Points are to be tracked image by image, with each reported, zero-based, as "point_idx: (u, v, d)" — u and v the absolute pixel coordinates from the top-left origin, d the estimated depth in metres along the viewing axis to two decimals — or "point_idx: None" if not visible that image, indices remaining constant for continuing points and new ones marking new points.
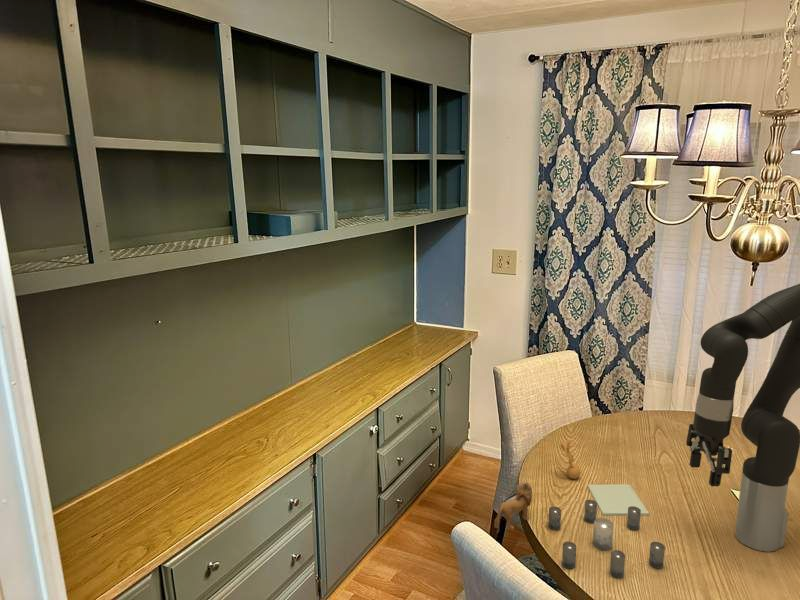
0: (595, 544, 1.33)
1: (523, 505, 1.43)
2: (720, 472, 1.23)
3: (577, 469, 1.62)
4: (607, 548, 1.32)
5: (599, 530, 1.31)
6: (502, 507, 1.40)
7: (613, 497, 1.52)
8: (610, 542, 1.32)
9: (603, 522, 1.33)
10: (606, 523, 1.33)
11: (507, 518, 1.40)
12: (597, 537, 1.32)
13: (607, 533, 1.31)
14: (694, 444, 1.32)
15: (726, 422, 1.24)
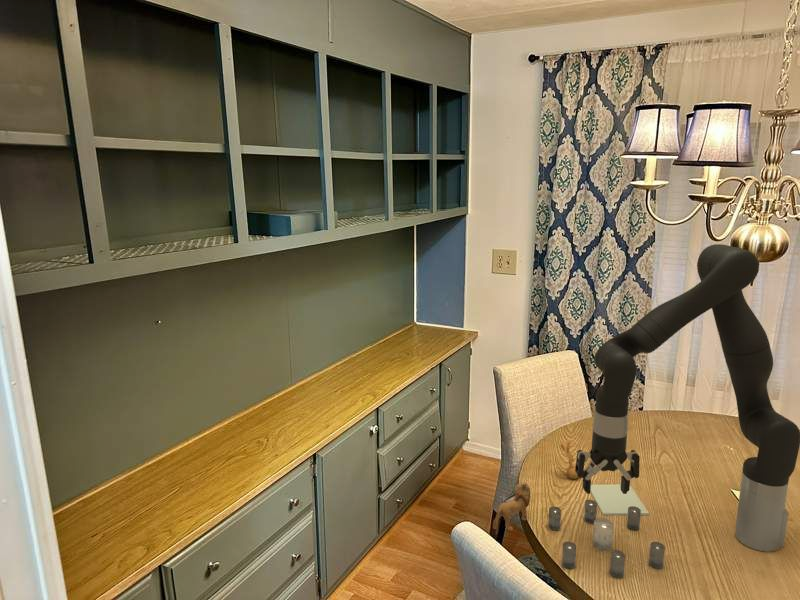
0: (595, 544, 1.33)
1: (522, 506, 1.42)
2: None
3: None
4: (607, 548, 1.32)
5: (599, 530, 1.31)
6: (501, 508, 1.40)
7: (613, 497, 1.52)
8: (610, 542, 1.32)
9: (603, 522, 1.33)
10: (606, 523, 1.33)
11: (506, 519, 1.40)
12: (597, 537, 1.32)
13: (607, 533, 1.31)
14: (597, 470, 1.28)
15: None
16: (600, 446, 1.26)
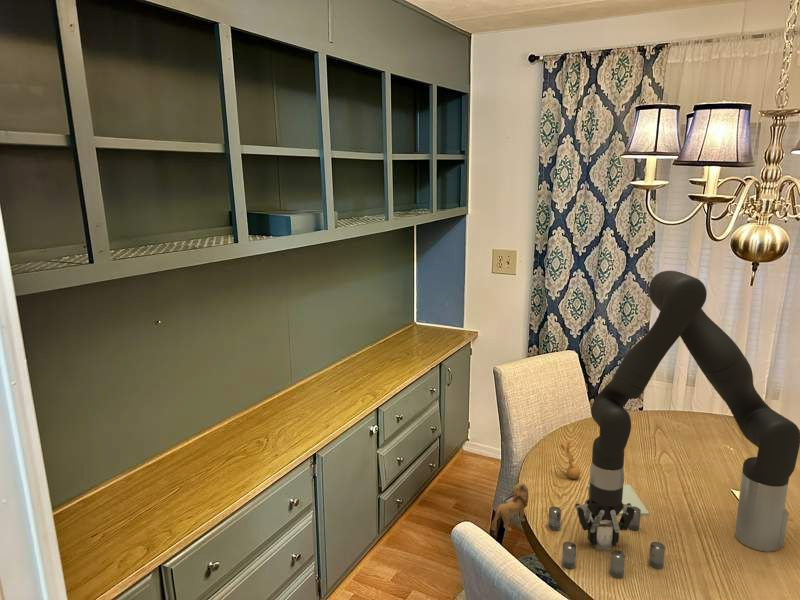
0: (595, 544, 1.33)
1: (520, 507, 1.42)
2: None
3: (577, 469, 1.62)
4: (607, 548, 1.32)
5: (599, 530, 1.31)
6: (499, 509, 1.39)
7: None
8: (610, 542, 1.32)
9: (603, 522, 1.33)
10: (607, 523, 1.33)
11: (504, 520, 1.39)
12: (597, 537, 1.32)
13: (607, 533, 1.31)
14: (598, 521, 1.31)
15: None
16: (597, 497, 1.28)
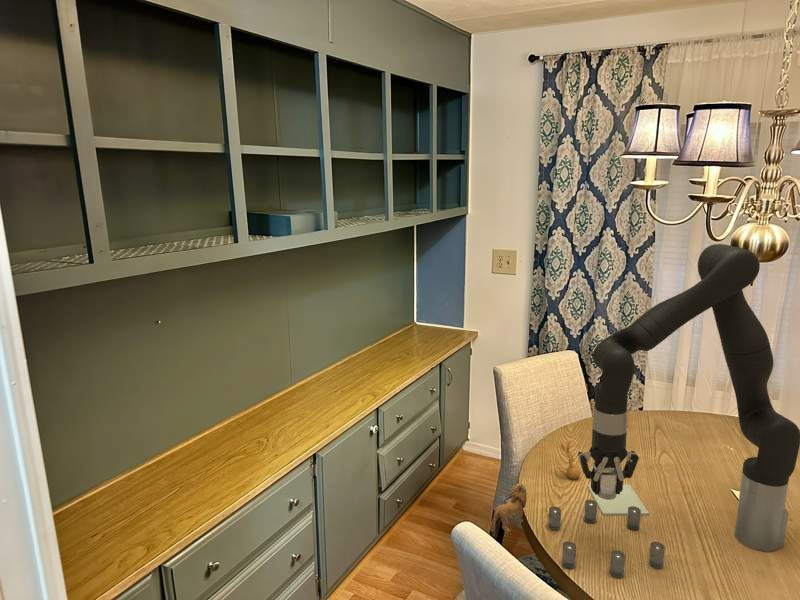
0: (599, 493, 1.30)
1: (518, 507, 1.42)
2: None
3: (577, 469, 1.62)
4: (610, 496, 1.29)
5: (603, 478, 1.28)
6: (498, 510, 1.39)
7: None
8: (614, 490, 1.29)
9: (606, 470, 1.30)
10: (610, 471, 1.30)
11: (503, 521, 1.39)
12: (600, 485, 1.29)
13: (611, 480, 1.28)
14: (601, 468, 1.28)
15: None
16: (600, 443, 1.25)
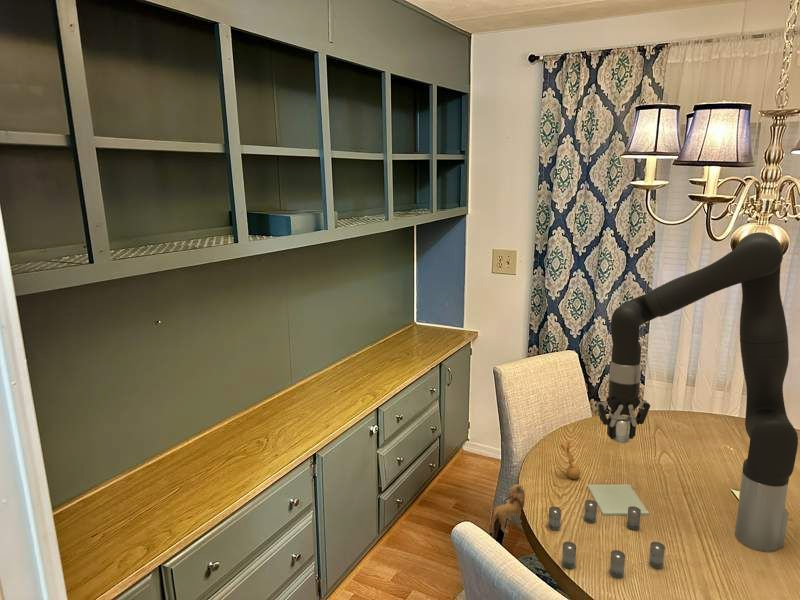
0: (614, 438, 1.46)
1: (517, 508, 1.41)
2: None
3: (577, 469, 1.62)
4: (625, 440, 1.45)
5: (618, 424, 1.45)
6: (496, 512, 1.38)
7: (613, 497, 1.52)
8: (628, 435, 1.45)
9: (621, 417, 1.47)
10: (624, 418, 1.46)
11: (501, 522, 1.38)
12: (616, 431, 1.46)
13: (625, 426, 1.44)
14: (617, 415, 1.44)
15: None
16: (616, 392, 1.42)
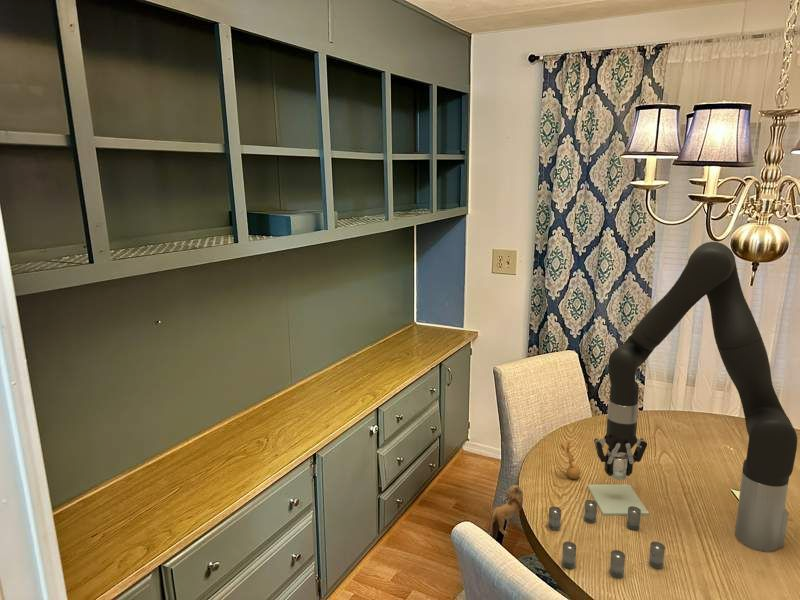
0: None
1: (515, 509, 1.41)
2: None
3: (577, 469, 1.62)
4: (622, 477, 1.48)
5: (615, 462, 1.48)
6: (495, 513, 1.38)
7: (613, 497, 1.52)
8: (625, 472, 1.48)
9: (618, 455, 1.50)
10: (622, 455, 1.49)
11: (500, 523, 1.38)
12: (613, 468, 1.49)
13: (622, 463, 1.47)
14: (614, 453, 1.47)
15: None
16: (614, 431, 1.45)
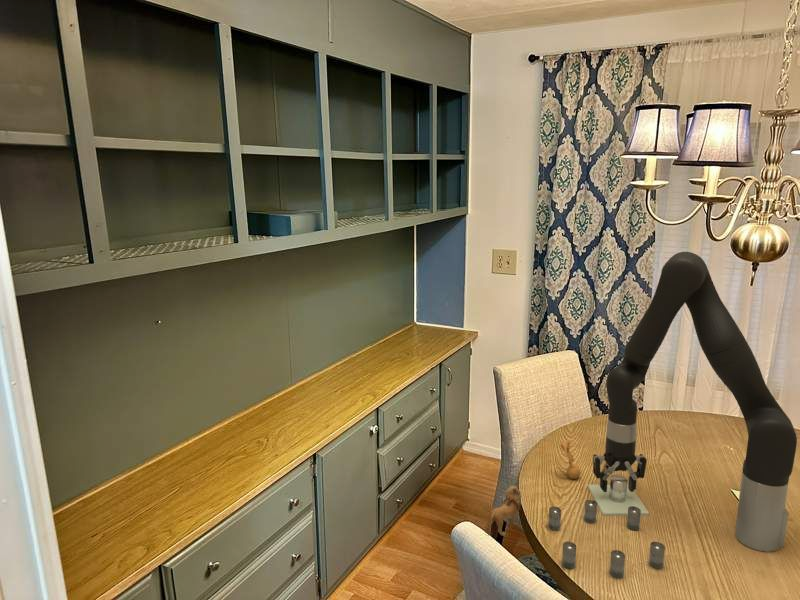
0: (611, 497, 1.51)
1: (513, 510, 1.41)
2: None
3: (577, 469, 1.62)
4: (621, 500, 1.50)
5: (615, 484, 1.49)
6: (493, 514, 1.37)
7: None
8: (624, 495, 1.50)
9: (618, 477, 1.51)
10: (621, 478, 1.51)
11: (498, 524, 1.38)
12: (613, 490, 1.50)
13: (622, 486, 1.49)
14: (612, 471, 1.48)
15: None
16: (613, 450, 1.46)
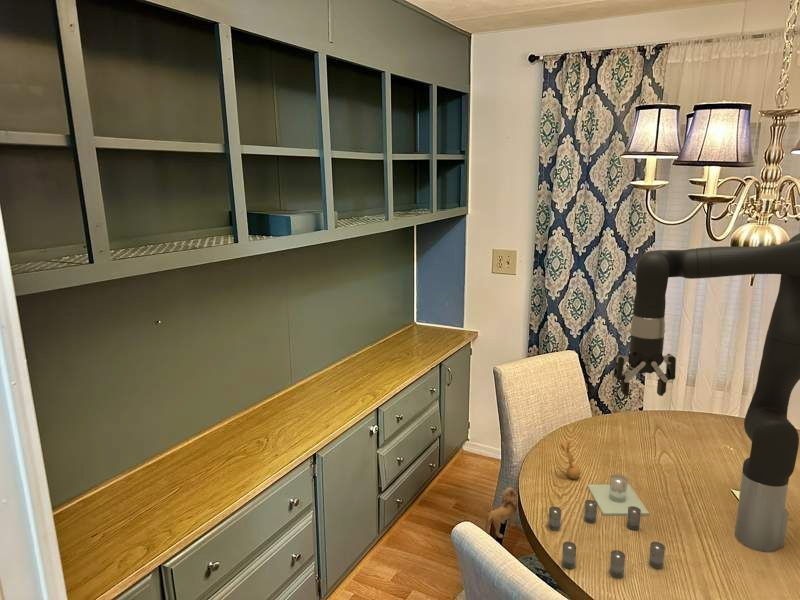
0: (611, 497, 1.51)
1: (510, 512, 1.40)
2: None
3: (577, 469, 1.62)
4: (621, 500, 1.50)
5: (615, 484, 1.49)
6: (491, 516, 1.36)
7: None
8: (624, 495, 1.50)
9: (618, 477, 1.51)
10: (621, 478, 1.51)
11: (496, 527, 1.37)
12: (613, 490, 1.50)
13: (622, 486, 1.49)
14: (635, 372, 1.35)
15: None
16: (638, 348, 1.33)
